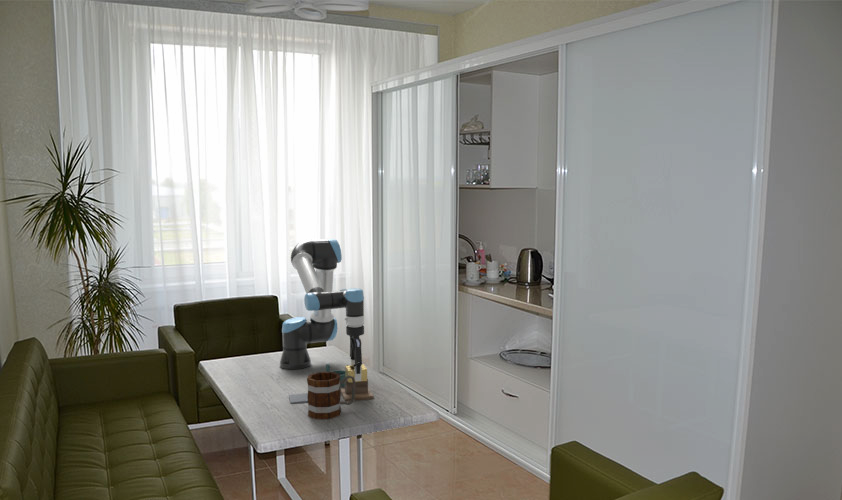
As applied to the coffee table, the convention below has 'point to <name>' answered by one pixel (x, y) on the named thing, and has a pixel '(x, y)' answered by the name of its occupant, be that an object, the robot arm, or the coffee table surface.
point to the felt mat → (298, 398)
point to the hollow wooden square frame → (351, 372)
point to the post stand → (357, 391)
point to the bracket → (342, 373)
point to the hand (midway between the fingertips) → (356, 377)
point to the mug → (326, 394)
